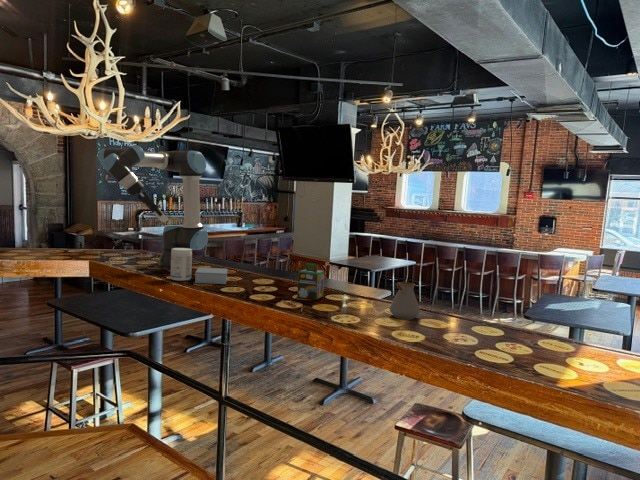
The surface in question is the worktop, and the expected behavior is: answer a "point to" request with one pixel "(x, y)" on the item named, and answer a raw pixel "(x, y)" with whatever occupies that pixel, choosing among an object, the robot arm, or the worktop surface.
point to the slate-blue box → (211, 275)
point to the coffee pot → (405, 302)
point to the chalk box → (310, 283)
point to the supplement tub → (181, 264)
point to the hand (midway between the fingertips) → (165, 220)
